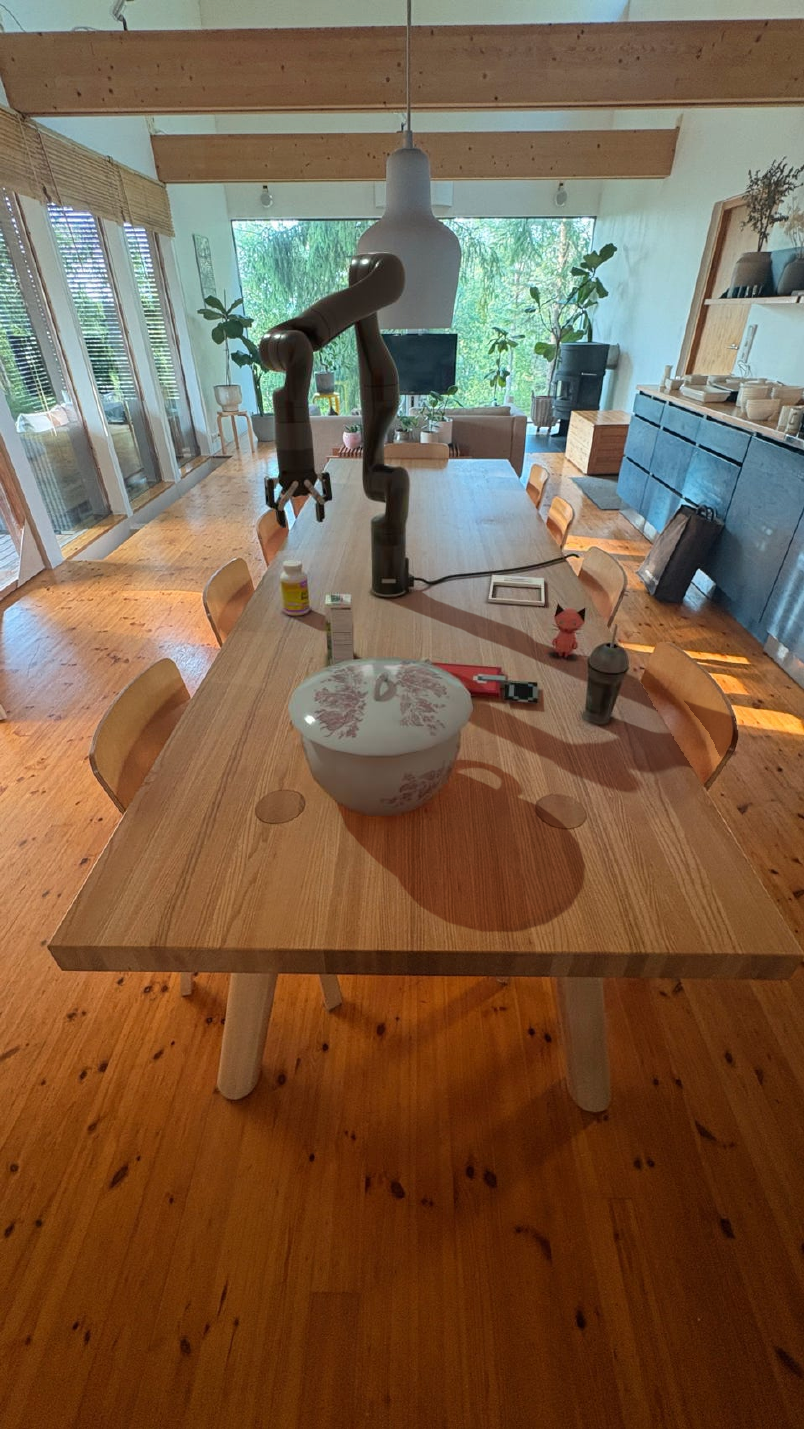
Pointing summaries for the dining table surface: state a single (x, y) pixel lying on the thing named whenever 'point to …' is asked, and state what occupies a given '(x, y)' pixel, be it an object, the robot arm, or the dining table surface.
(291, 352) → the robot arm
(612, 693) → the beverage cup
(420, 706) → the chamber pot
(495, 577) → the photo frame
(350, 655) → the syrup box
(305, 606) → the supplement bottle
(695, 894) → the dining table surface
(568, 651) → the cat figurine
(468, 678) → the red board with handle
